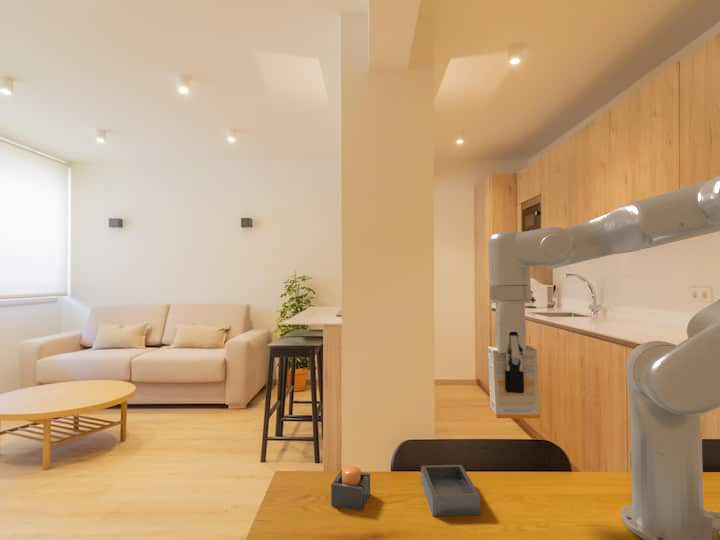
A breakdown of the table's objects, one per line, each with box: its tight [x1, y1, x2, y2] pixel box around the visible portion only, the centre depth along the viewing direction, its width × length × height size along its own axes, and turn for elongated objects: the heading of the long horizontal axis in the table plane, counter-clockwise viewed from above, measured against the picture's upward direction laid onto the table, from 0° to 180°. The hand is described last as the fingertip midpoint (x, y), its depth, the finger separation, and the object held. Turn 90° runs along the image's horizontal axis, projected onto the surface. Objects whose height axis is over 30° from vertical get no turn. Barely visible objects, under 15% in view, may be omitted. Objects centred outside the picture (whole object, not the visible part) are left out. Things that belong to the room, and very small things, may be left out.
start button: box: [341, 465, 361, 486], centre depth 75 cm, size 4×4×4 cm
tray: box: [420, 464, 481, 517], centre depth 75 cm, size 9×12×4 cm
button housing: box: [330, 469, 371, 512], centre depth 75 cm, size 6×6×4 cm
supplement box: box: [487, 345, 541, 419], centre depth 75 cm, size 8×5×13 cm, turn 84°
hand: (513, 387), depth 75 cm, fingers closed on supplement box, 5 cm apart
